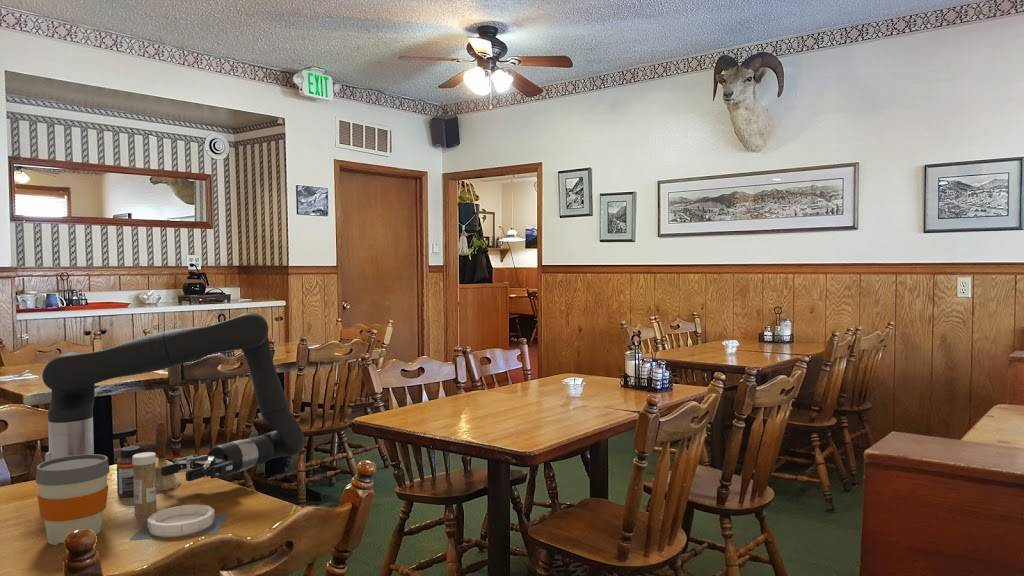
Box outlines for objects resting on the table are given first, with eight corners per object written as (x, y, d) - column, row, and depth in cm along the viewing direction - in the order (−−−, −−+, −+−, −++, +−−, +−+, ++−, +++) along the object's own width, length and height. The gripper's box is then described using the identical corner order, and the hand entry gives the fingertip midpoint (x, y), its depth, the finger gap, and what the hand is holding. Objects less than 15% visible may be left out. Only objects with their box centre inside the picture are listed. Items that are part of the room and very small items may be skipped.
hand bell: (186, 485, 173) (185, 421, 172) (151, 493, 166) (150, 427, 166) (172, 479, 178) (170, 416, 178) (137, 487, 172) (136, 422, 171)
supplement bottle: (124, 491, 168) (123, 444, 168) (150, 490, 168) (149, 444, 168) (112, 499, 162) (111, 451, 162) (139, 498, 163) (138, 450, 162)
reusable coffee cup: (32, 553, 131) (30, 474, 131) (41, 532, 142) (39, 458, 142) (109, 541, 137) (107, 465, 136) (112, 521, 148) (110, 451, 147)
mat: (129, 543, 136) (129, 540, 136) (149, 521, 147) (149, 518, 147) (216, 536, 139) (216, 533, 138) (229, 516, 150) (229, 513, 150)
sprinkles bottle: (158, 516, 150) (157, 454, 150) (134, 521, 148) (133, 458, 148) (155, 510, 154) (154, 450, 154) (132, 514, 152) (131, 453, 151)
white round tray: (140, 539, 136) (139, 527, 136) (159, 518, 148) (159, 506, 148) (205, 534, 138) (205, 522, 138) (219, 514, 150) (219, 502, 150)
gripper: (213, 438, 175) (153, 453, 160) (254, 445, 168) (195, 461, 154) (214, 468, 175) (154, 486, 161) (254, 476, 168) (195, 495, 154)
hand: (174, 474), depth 157 cm, fingers open, 8 cm apart
